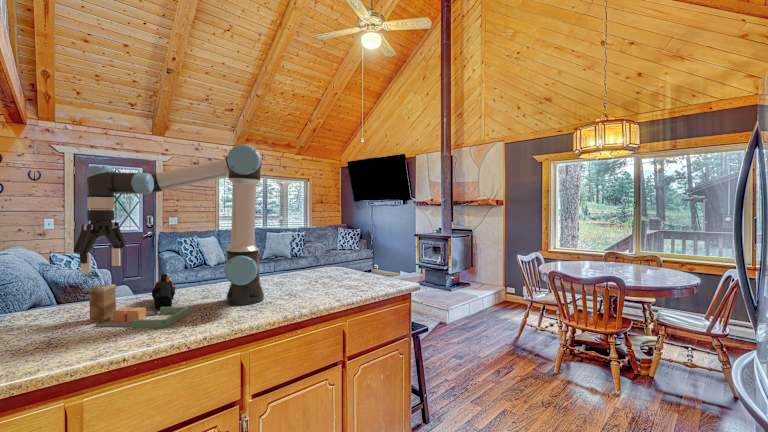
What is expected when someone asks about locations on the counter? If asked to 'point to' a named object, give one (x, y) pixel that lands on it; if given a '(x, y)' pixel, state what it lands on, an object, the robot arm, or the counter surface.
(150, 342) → the counter surface
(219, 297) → the counter surface
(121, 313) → the orange cubic piece
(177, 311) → the green u-shaped frame
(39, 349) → the counter surface
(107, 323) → the slot rails
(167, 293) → the tool
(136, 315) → the orange cube piece
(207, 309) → the counter surface
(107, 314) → the light brown tall block
